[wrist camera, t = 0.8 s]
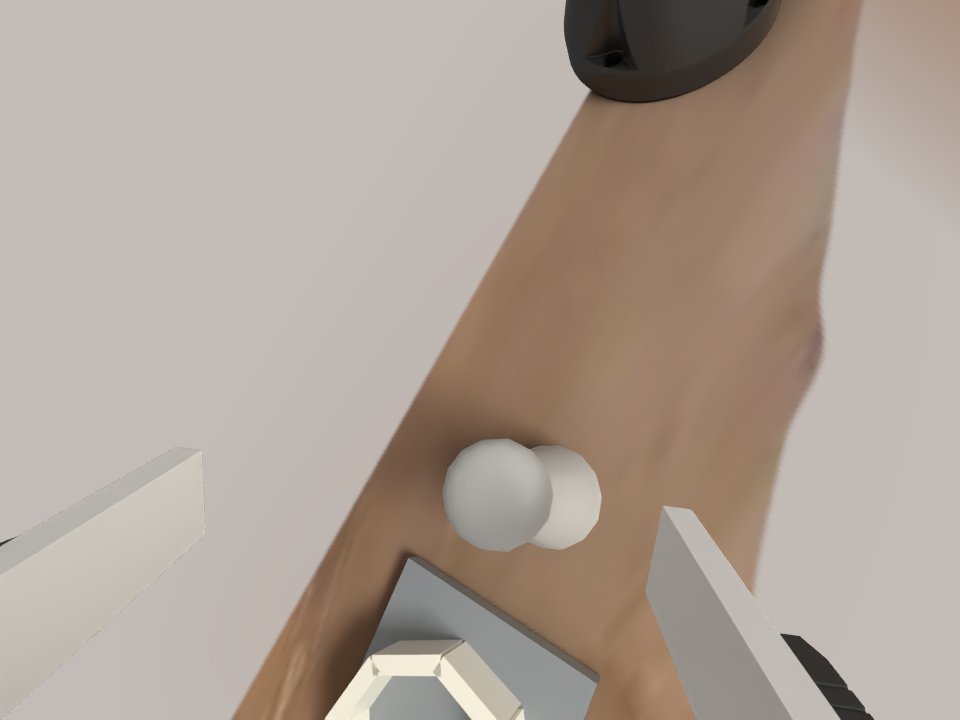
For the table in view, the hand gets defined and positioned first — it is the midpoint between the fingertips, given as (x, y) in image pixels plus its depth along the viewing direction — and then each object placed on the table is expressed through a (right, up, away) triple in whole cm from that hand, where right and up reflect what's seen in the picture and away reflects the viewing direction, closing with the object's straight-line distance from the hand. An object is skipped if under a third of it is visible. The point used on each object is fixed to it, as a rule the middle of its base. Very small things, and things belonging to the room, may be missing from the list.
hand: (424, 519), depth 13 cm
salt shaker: (+7, -4, +16) cm, 18 cm away
